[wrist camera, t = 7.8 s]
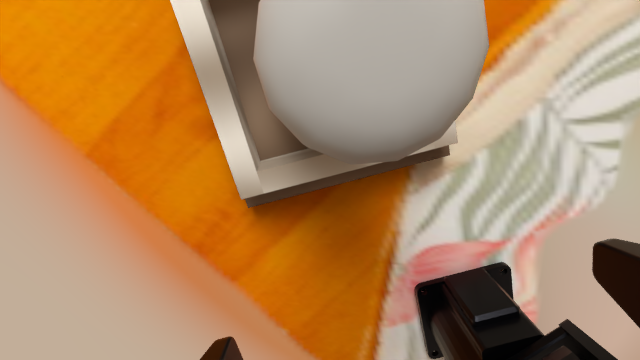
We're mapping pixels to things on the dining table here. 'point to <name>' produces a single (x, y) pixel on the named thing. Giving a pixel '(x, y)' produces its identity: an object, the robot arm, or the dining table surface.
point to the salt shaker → (369, 71)
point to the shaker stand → (262, 110)
